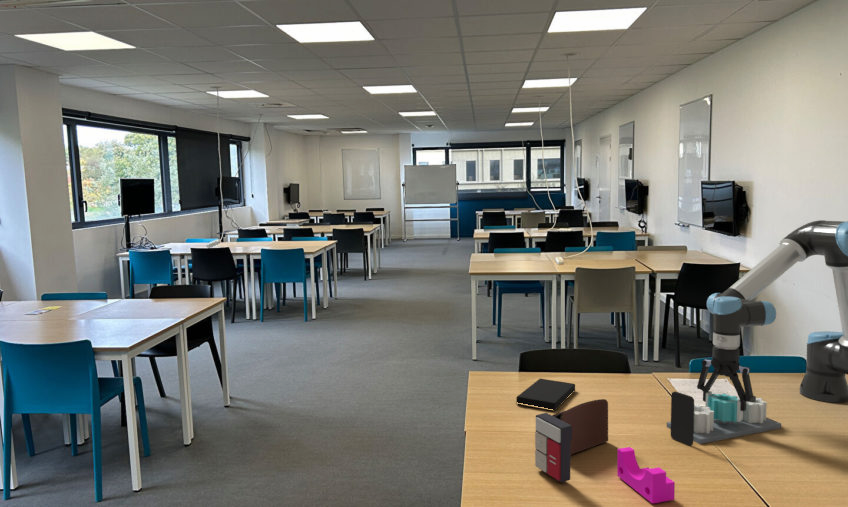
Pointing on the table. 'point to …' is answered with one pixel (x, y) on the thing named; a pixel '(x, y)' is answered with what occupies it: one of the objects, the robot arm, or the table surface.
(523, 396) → the black book
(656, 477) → the magenta mounting bracket
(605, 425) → the letter holder
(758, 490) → the table surface
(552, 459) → the calculator
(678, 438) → the phone
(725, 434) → the gear board
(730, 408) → the teal gear
